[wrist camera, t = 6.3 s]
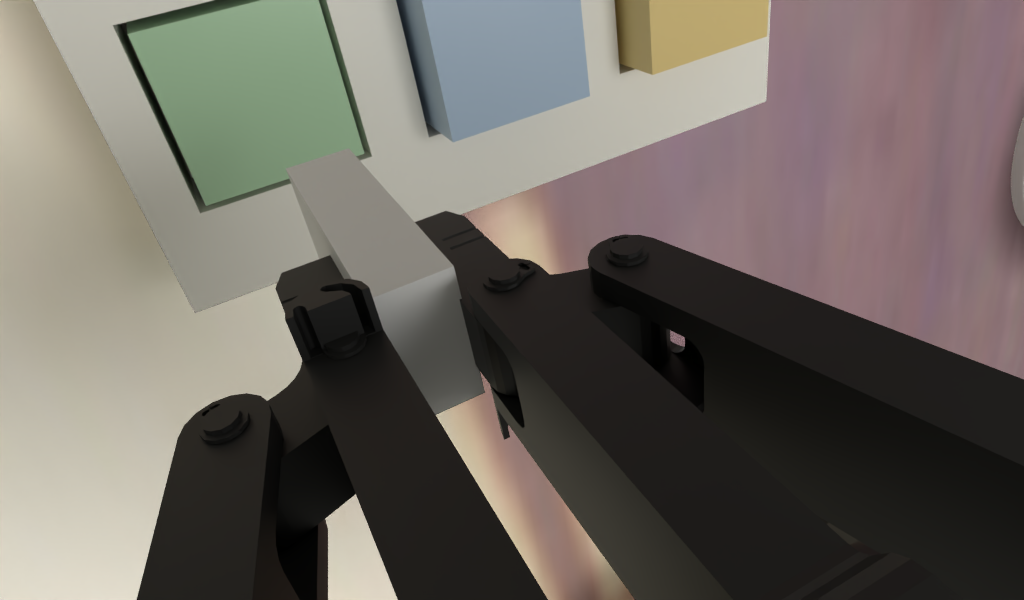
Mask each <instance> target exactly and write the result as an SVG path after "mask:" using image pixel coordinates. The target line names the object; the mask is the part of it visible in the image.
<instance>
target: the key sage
mask: <svg viewBox="0 0 1024 600" xmlns="http://www.w3.org/2000/svg"><path fill="white" fill-rule="evenodd" d="M126 23H127V34H128V37H129V39H130V41H131V43H132V45H133V48H134V50H135V52H136V54H137V56H138V58H139V61H140V63H141V65H142V67H143V69H144V72H145V74H146V76H147V78H148V80H149V83H150V85H151V87H152V89H153V91H154V93H155V96H156V98H157V100H158V102H159V104H160V107H161V109H162V111H163V113H164V115H165V118H166V120H167V122H168V124H169V126H170V128H171V131H172V133H173V135H174V137H175V139H176V142H177V144H178V146H179V148H180V150H181V153H182V155H183V157H184V159H185V161H186V163H187V166H188V168H189V170H190V172H191V174H192V177H193V179H194V181H195V183H196V185H197V188H198V190H199V192H200V194H201V196H202V198H203V201H204V203H205V205H206V206H208V205H211V204H214V203H217V202H220V201H223V200H226V199H229V198H232V197H235V196H238V195H241V194H244V193H247V192H250V191H253V190H256V189H259V188H262V187H265V186H268V185H271V184H274V183H277V182H280V181H283V180H286V179H289V176H288V174H287V171H286V168H289V167H292V166H295V165H299V164H302V163H305V162H308V161H311V160H314V159H317V158H320V157H323V156H326V155H329V154H332V153H335V152H339V151H342V150H345V149H348V148H349V149H350V150H351V151H352V152H353V153H354V155H355V156H359V155H362V154H364V150H363V147H362V144H361V140H360V137H359V133H358V130H357V127H356V123H355V120H354V117H353V113H352V110H351V107H350V103H349V100H348V97H347V93H346V90H345V87H344V83H343V80H342V77H341V73H340V70H339V67H338V63H337V60H336V57H335V53H334V50H333V46H332V43H331V40H330V36H329V33H328V30H327V26H326V23H325V20H324V16H323V13H322V10H321V6H320V3H319V0H213V1H209V2H205V3H201V4H197V5H193V6H189V7H185V8H181V9H177V10H173V11H169V12H165V13H161V14H157V15H153V16H149V17H145V18H141V19H137V20H133V21H129V22H126Z"/></svg>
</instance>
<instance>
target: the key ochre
mask: <svg viewBox="0 0 1024 600" xmlns="http://www.w3.org/2000/svg"><path fill="white" fill-rule="evenodd" d="M614 1H615V15H616V29H617V42H618V56H619V63H620V64H623V65H625V66H628V67H631V68H634V69H637V70H640V71H642V72H645V73H648V74H651V75H654V74H657V73H660V72H663V71H666V70H669V69H672V68H675V67H678V66H681V65H684V64H687V63H690V62H693V61H696V60H699V59H702V58H705V57H708V56H710V55H713V54H716V53H719V52H722V51H725V50H728V49H731V48H734V47H737V46H740V45H743V44H746V43H749V42H752V41H755V40H758V39H761V38H764V37H767V30H768V8H769V0H614Z"/></svg>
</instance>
